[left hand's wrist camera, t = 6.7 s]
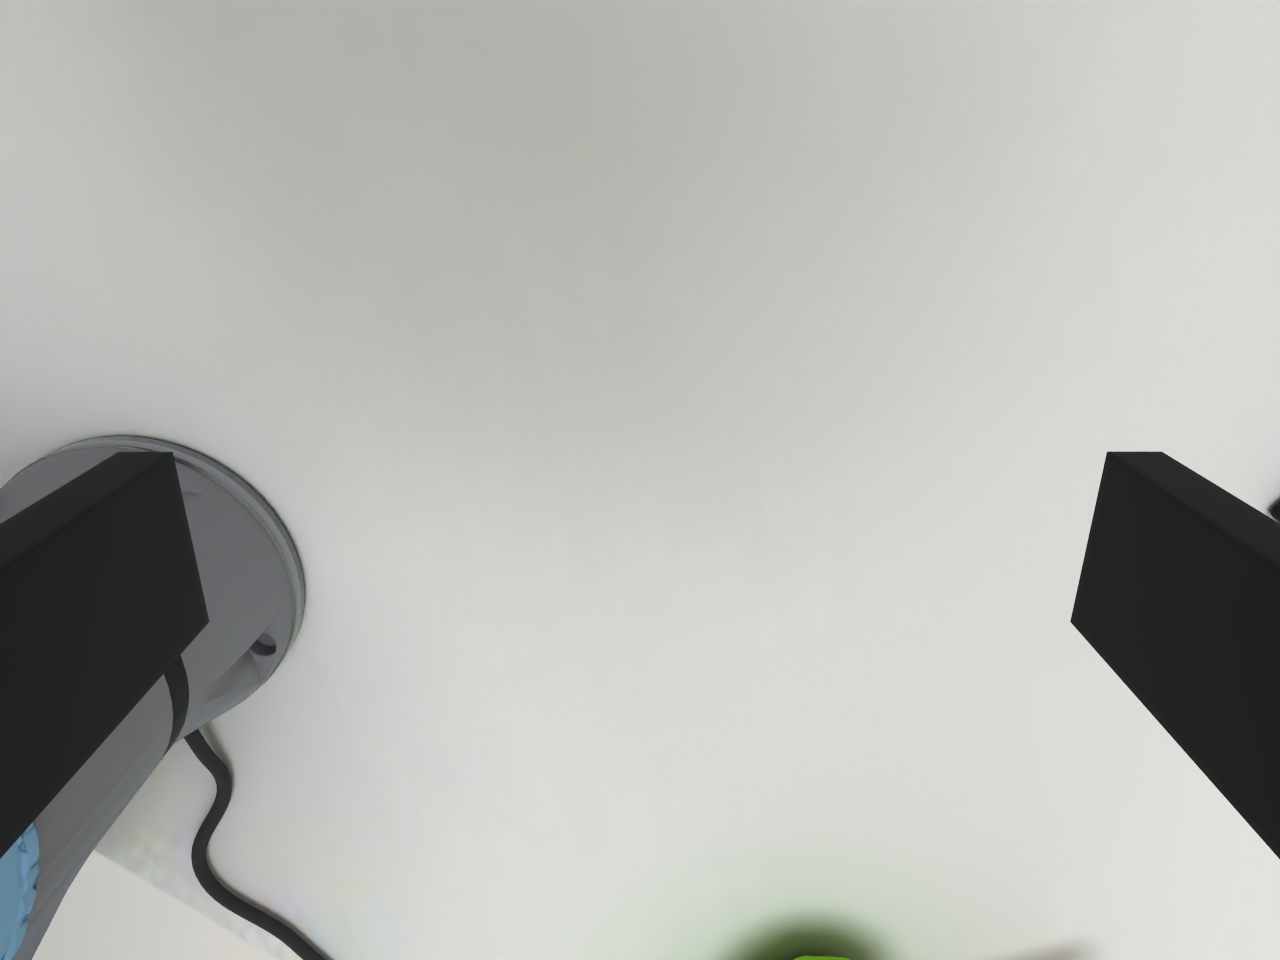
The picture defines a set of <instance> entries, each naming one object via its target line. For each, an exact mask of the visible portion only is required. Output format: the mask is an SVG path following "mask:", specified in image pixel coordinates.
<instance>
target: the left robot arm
mask: <svg viewBox="0 0 1280 960" xmlns="http://www.w3.org/2000/svg"><path fill="white" fill-rule="evenodd" d="M208 623H209V617H208V613H207V608H206V603H205V599H204V594H203V589H202V585H201V580H200V575H199V571H198V566H197V562H196V557H195V552H194V548H193V543H192V538H191V534H190V529H189V524H188V520H187V515H186V511H185V506H184V501H183V497H182V492H181V487H180V483H179V478H178V473H177V469H176V464H175V460H174V455H173V452H117V453H115V454H114V455H112V456H111V457H109V458H107V459H106V460H104V461H102V462H101V463H99V464H97V465H96V466H94V467H93V468H91V469H89V470H88V471H86V472H84V473H83V474H81V475H79V476H78V477H76V478H74V479H73V480H71V481H70V482H68V483H66V484H65V485H63V486H61V487H60V488H58V489H56V490H55V491H53V492H52V493H50V494H48V495H47V496H45V497H43V498H42V499H40V500H38V501H37V502H35V503H33V504H32V505H30V506H29V507H27V508H25V509H24V510H22V511H20V512H19V513H17V514H15V515H14V516H12V517H11V518H9V519H7V520H6V521H4V522H2V523H1V524H0V859H1V858H2V856H3V855H4V854H5V853H6V852H7V851H8V850H9V849H10V847H11V846H12V845H13V844H14V843H15V842H16V841H17V839H18V838H19V837H20V836H21V835H22V834H23V833H24V832H25V830H26V829H27V828H28V827H29V826H30V825H31V824H32V822H33V821H34V820H35V819H36V818H37V817H38V816H39V815H40V813H41V812H42V811H43V810H44V809H45V808H46V807H47V805H48V804H49V803H50V802H51V801H52V800H53V799H54V798H55V796H56V795H57V794H58V793H59V792H60V791H61V790H62V788H63V787H64V786H65V785H66V784H67V783H68V782H69V780H70V779H71V778H72V777H73V776H74V775H75V774H76V773H77V771H78V770H79V769H80V768H81V767H82V766H83V765H84V763H85V762H86V761H87V760H88V759H89V758H90V757H91V756H92V754H93V753H94V752H95V751H96V750H97V749H98V748H99V746H100V745H101V744H102V743H103V742H104V741H105V740H106V739H107V737H108V736H109V735H110V734H111V733H112V732H113V731H114V729H115V728H116V727H117V726H118V725H119V724H120V723H121V722H122V720H123V719H124V718H125V717H126V716H127V715H128V714H129V712H130V711H131V710H132V709H133V708H134V707H135V706H136V705H137V703H138V702H139V701H140V700H141V699H142V698H143V697H144V695H145V694H146V693H147V692H148V691H149V690H150V689H151V688H152V686H153V685H154V684H155V683H156V682H157V681H158V680H159V678H160V677H161V676H162V675H163V674H164V673H165V672H166V671H167V669H168V668H169V667H170V666H171V665H172V664H173V663H174V661H175V660H176V659H177V658H178V657H179V656H180V655H181V654H182V652H183V651H184V650H185V649H186V648H187V647H188V646H189V644H190V643H191V642H192V641H193V640H194V639H195V638H196V636H197V635H198V634H199V633H200V632H201V631H202V630H203V629H204V627H205V626H206V625H207V624H208ZM1071 623H1072V624H1073V625H1074V626H1075V627H1076V629H1077V630H1078V631H1079V632H1080V633H1081V634H1082V635H1083V636H1084V638H1085V639H1086V640H1087V641H1088V642H1089V643H1090V644H1091V646H1092V647H1093V648H1094V649H1095V650H1096V651H1097V652H1098V654H1099V655H1100V656H1101V657H1102V658H1103V659H1104V660H1105V661H1106V663H1107V664H1108V665H1109V666H1110V667H1111V668H1112V669H1113V671H1114V672H1115V673H1116V674H1117V675H1118V676H1119V677H1120V678H1121V680H1122V681H1123V682H1124V683H1125V684H1126V685H1127V686H1128V688H1129V689H1130V690H1131V691H1132V692H1133V693H1134V694H1135V695H1136V697H1137V698H1138V699H1139V700H1140V701H1141V702H1142V703H1143V705H1144V706H1145V707H1146V708H1147V709H1148V710H1149V711H1150V712H1151V714H1152V715H1153V716H1154V717H1155V718H1156V719H1157V720H1158V722H1159V723H1160V724H1161V725H1162V726H1163V727H1164V728H1165V729H1166V731H1167V732H1168V733H1169V734H1170V735H1171V736H1172V737H1173V739H1174V740H1175V741H1176V742H1177V743H1178V744H1179V745H1180V746H1181V748H1182V749H1183V750H1184V751H1185V752H1186V753H1187V754H1188V756H1189V757H1190V758H1191V759H1192V760H1193V761H1194V762H1195V763H1196V765H1197V766H1198V767H1199V768H1200V769H1201V770H1202V771H1203V773H1204V774H1205V775H1206V776H1207V777H1208V778H1209V779H1210V780H1211V782H1212V783H1213V784H1214V785H1215V786H1216V787H1217V788H1218V790H1219V791H1220V792H1221V793H1222V794H1223V795H1224V796H1225V798H1226V799H1227V800H1228V801H1229V802H1230V803H1231V804H1232V805H1233V807H1234V808H1235V809H1236V810H1237V811H1238V812H1239V813H1240V815H1241V816H1242V817H1243V818H1244V819H1245V820H1246V821H1247V822H1248V824H1249V825H1250V826H1251V827H1252V828H1253V829H1254V830H1255V832H1256V833H1257V834H1258V835H1259V836H1260V837H1261V838H1262V839H1263V841H1264V842H1265V843H1266V844H1267V845H1268V846H1269V847H1270V849H1271V850H1272V851H1273V852H1274V853H1275V854H1276V855H1277V856H1278V858H1279V859H1280V524H1279V523H1278V522H1276V521H1274V520H1273V519H1271V518H1269V517H1268V516H1266V515H1265V514H1263V513H1261V512H1260V511H1258V510H1256V509H1255V508H1253V507H1251V506H1250V505H1248V504H1247V503H1245V502H1243V501H1242V500H1240V499H1238V498H1237V497H1235V496H1233V495H1232V494H1230V493H1228V492H1227V491H1225V490H1224V489H1222V488H1220V487H1219V486H1217V485H1215V484H1214V483H1212V482H1210V481H1209V480H1207V479H1206V478H1204V477H1202V476H1201V475H1199V474H1197V473H1196V472H1194V471H1192V470H1191V469H1189V468H1187V467H1186V466H1184V465H1183V464H1181V463H1179V462H1178V461H1176V460H1174V459H1173V458H1171V457H1169V456H1168V455H1166V454H1165V453H1163V452H1107V455H1106V460H1105V464H1104V469H1103V473H1102V478H1101V483H1100V487H1099V492H1098V497H1097V501H1096V506H1095V511H1094V515H1093V520H1092V524H1091V529H1090V534H1089V538H1088V543H1087V548H1086V552H1085V557H1084V562H1083V566H1082V571H1081V575H1080V580H1079V585H1078V589H1077V594H1076V599H1075V603H1074V608H1073V613H1072V617H1071Z"/></svg>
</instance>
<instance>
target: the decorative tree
mask: <svg viewBox="0 0 1280 960" xmlns="http://www.w3.org/2000/svg"><path fill="white" fill-rule="evenodd" d="M793 960H850V959H848V958H843V957H827V956H806V955H805V956H800V957H797V958H795V959H793Z"/></svg>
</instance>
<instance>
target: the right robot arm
mask: <svg viewBox="0 0 1280 960" xmlns="http://www.w3.org/2000/svg"><path fill="white" fill-rule="evenodd" d="M117 452H173V455H174V460H175V464H176V469H177V473H178V478H179V483H180V487H181V492H182V497H183V501H184V506H185V511H186V515H187V520H188V524H189V529H190V534H191V538H192V543H193V548H194V552H195V557H196V562H197V566H198V571H199V575H200V580H201V585H202V589H203V594H204V599H205V603H206V608H207V613H208V617H209V623H208V624H207V625H206V626H205V627H204V629H203V630H202V631H201V632H200V633H199V634H198V635H197V636H196V638H195V639H194V640H193V641H192V642H191V643H190V644H189V646H188V647H187V648H186V649H185V650H184V651H183V652H182V654H181V655H180V656H179V657H178V658H177V659H176V660H175V661H174V663H173V664H172V665H171V666H170V667H169V668H168V669H167V671H166V672H165V673H164V674H163V675H162V676H161V677H160V678H159V680H158V681H157V682H156V683H155V684H154V685H153V686H152V688H151V689H150V690H149V691H148V692H147V693H146V694H145V695H144V697H143V698H142V699H141V700H140V701H139V702H138V703H137V705H136V706H135V707H134V708H133V709H132V710H131V711H130V712H129V714H128V715H127V716H126V717H125V718H124V719H123V720H122V722H121V723H120V724H119V725H118V726H117V727H116V728H115V729H114V731H113V732H112V733H111V734H110V735H109V736H108V737H107V739H106V740H105V741H104V742H103V743H102V744H101V745H100V746H99V748H98V749H97V750H96V751H95V752H94V753H93V754H92V756H91V757H90V758H89V759H88V760H87V761H86V762H85V763H84V765H83V766H82V767H81V768H80V769H79V770H78V771H77V773H76V774H75V775H74V776H73V777H72V778H71V779H70V780H69V782H68V783H67V784H66V785H65V786H64V787H63V788H62V790H61V791H60V792H59V793H58V794H57V795H56V796H55V798H54V799H53V800H52V801H51V802H50V803H49V804H48V805H47V807H46V808H45V809H44V810H43V811H42V812H41V813H40V815H39V816H38V817H37V818H36V819H35V820H34V821H33V822H32V824H31V825H30V826H29V827H28V828H27V829H26V830H25V832H24V833H23V834H22V835H21V836H20V837H19V838H18V839H17V841H16V842H15V843H14V844H13V845H12V846H11V847H10V849H9V850H8V851H7V852H6V853H5V854H4V855H3V856H2V858H1V859H0V960H32V958H33V956H34V954H35V952H36V950H37V948H38V946H39V944H40V942H41V940H42V938H43V936H44V934H45V932H46V931H47V928H48V927H49V925H50V923H51V921H52V919H53V917H54V915H55V913H56V911H57V909H58V907H59V905H60V903H61V901H62V899H63V897H64V895H65V893H66V892H67V890H68V888H69V886H70V885H71V883H72V882H73V880H74V878H75V877H76V875H77V873H78V872H79V870H80V869H81V867H82V866H83V864H84V863H85V861H86V860H87V858H88V857H89V855H90V854H91V852H92V851H93V849H94V848H95V847H96V845H97V844H98V842H99V841H100V840H101V838H102V837H103V836H104V834H105V833H106V832H107V830H108V829H109V828H110V826H111V825H112V824H113V823H114V821H115V820H116V819H117V817H118V816H119V815H120V813H121V812H122V811H123V809H124V808H125V807H126V806H127V804H128V803H129V802H130V800H131V799H132V798H133V796H134V795H135V794H136V792H137V791H138V790H139V789H140V787H141V786H142V785H143V783H144V782H145V781H146V779H147V778H148V777H149V775H150V774H151V773H152V772H153V770H154V769H155V768H156V766H157V765H158V763H159V762H160V760H161V759H162V758H163V757H164V755H165V754H166V753H167V751H168V750H169V749H170V747H171V746H172V745H173V744H174V743H175V742H177V741H178V740H180V739H182V738H183V737H184V739H185V740H186V742H187V743H188V745H189V746H190V748H191V749H192V751H193V752H194V754H195V755H196V756H197V758H198V759H199V760H200V761H201V763H202V764H203V765H204V766H205V767H206V768H207V769H208V770H209V771H210V772H211V774H212V775H213V777H214V778H215V781H216V784H217V794H216V798H215V801H214V804H213V806H212V808H211V810H210V812H209V814H208V815H207V817H206V819H205V820H204V822H203V824H202V825H201V827H200V829H199V831H198V833H197V835H196V837H195V840H194V843H193V846H192V866H193V869H194V872H195V875H196V877H197V879H198V881H199V882H200V884H201V885H202V887H203V888H204V889H205V890H206V892H207V893H208V894H209V895H210V896H211V897H212V898H213V899H215V900H216V901H217V902H218V903H220V904H221V905H222V906H224V907H225V908H227V909H228V910H230V911H232V912H233V913H235V914H237V915H239V916H240V917H242V918H244V919H246V920H248V921H250V922H252V923H253V924H255V925H257V926H259V927H261V928H262V929H264V930H266V931H268V932H269V933H271V934H272V935H274V936H275V937H277V938H278V939H280V940H281V941H282V942H284V943H285V944H286V945H287V946H288V947H290V948H291V949H292V950H293V951H294V952H295V953H296V954H297V955H298V956H300V957H301V958H302V959H303V960H325V959H324V958H323V957H322V956H321V955H320V954H319V953H317V952H316V951H315V950H314V949H313V948H312V947H311V946H309V945H308V944H307V943H306V942H305V941H304V940H303V939H302V938H301V937H299V936H298V935H297V934H296V933H295V932H294V931H292V930H291V929H290V928H288V927H287V926H286V925H284V924H283V923H281V922H280V921H278V920H276V919H275V918H273V917H271V916H270V915H268V914H266V913H264V912H262V911H261V910H259V909H257V908H255V907H253V906H251V905H250V904H248V903H246V902H244V901H243V900H241V899H239V898H238V897H236V896H235V895H233V894H232V893H230V892H229V891H228V890H227V889H225V888H224V887H223V886H222V885H221V884H220V883H219V882H218V881H217V879H216V878H215V877H214V876H213V874H212V872H211V870H210V869H209V867H208V864H207V861H206V848H207V845H208V841H209V839H210V837H211V835H212V833H213V832H214V830H215V828H216V826H217V825H218V823H219V821H220V820H221V818H222V816H223V815H224V813H225V811H226V809H227V806H228V804H229V801H230V797H231V777H230V773H229V771H228V769H227V767H226V766H225V765H224V763H223V762H222V761H221V760H220V759H219V758H218V757H217V755H216V754H215V753H214V752H213V751H212V749H211V748H210V747H209V745H208V744H207V742H206V741H205V739H204V737H203V736H202V734H201V733H200V731H199V730H198V728H200V727H201V726H203V725H205V724H206V723H208V722H210V721H211V720H213V719H215V718H216V717H218V716H220V715H221V714H223V713H225V712H226V711H228V710H230V709H231V708H233V707H235V706H236V705H238V704H239V703H241V702H242V701H244V700H245V699H246V698H248V697H249V696H250V695H251V694H252V693H254V692H255V691H256V690H257V689H258V688H259V687H260V686H261V685H263V684H264V683H265V682H266V681H267V680H268V679H269V677H270V676H271V675H272V674H273V673H274V672H275V670H276V669H277V667H278V666H279V664H280V663H281V661H282V660H283V658H284V657H285V655H286V654H287V652H288V651H289V649H290V648H291V646H292V644H293V642H294V640H295V638H296V636H297V634H298V631H299V628H300V625H301V621H302V617H303V611H304V601H305V596H304V581H303V574H302V570H301V566H300V562H299V559H298V556H297V553H296V550H295V548H294V546H293V544H292V541H291V539H290V537H289V535H288V533H287V532H286V530H285V528H284V527H283V525H282V523H281V522H280V520H279V519H278V518H277V516H276V515H275V513H274V512H273V511H272V509H271V508H270V507H269V506H268V505H267V504H266V502H265V501H264V500H263V499H262V498H261V497H260V496H259V495H258V494H257V493H256V492H255V491H254V490H253V489H252V488H251V487H250V486H248V485H247V484H246V483H245V482H244V481H242V480H241V479H240V478H239V477H237V476H236V475H235V474H233V473H232V472H230V471H229V470H227V469H226V468H224V467H223V466H221V465H219V464H218V463H216V462H214V461H213V460H211V459H209V458H207V457H205V456H203V455H201V454H199V453H196V452H194V451H191V450H189V449H186V448H184V447H181V446H178V445H174V444H171V443H168V442H164V441H159V440H155V439H150V438H142V437H134V436H109V437H99V438H93V439H87V440H83V441H80V442H76V443H73V444H70V445H67V446H65V447H62V448H60V449H58V450H56V451H54V452H52V453H50V454H48V455H47V456H45V457H43V458H41V459H39V460H37V461H36V462H34V463H32V464H30V465H28V466H27V467H26V468H24V469H23V470H21V471H20V472H18V473H17V474H16V475H15V476H14V477H13V478H12V479H11V480H9V481H8V482H7V483H6V484H5V485H4V486H3V487H2V488H1V489H0V524H1V523H2V522H4V521H6V520H7V519H9V518H11V517H12V516H14V515H15V514H17V513H19V512H20V511H22V510H24V509H25V508H27V507H29V506H30V505H32V504H33V503H35V502H37V501H38V500H40V499H42V498H43V497H45V496H47V495H48V494H50V493H52V492H53V491H55V490H56V489H58V488H60V487H61V486H63V485H65V484H66V483H68V482H70V481H71V480H73V479H74V478H76V477H78V476H79V475H81V474H83V473H84V472H86V471H88V470H89V469H91V468H93V467H94V466H96V465H97V464H99V463H101V462H102V461H104V460H106V459H107V458H109V457H111V456H112V455H114V454H115V453H117Z"/></svg>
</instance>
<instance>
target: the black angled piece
mask: <svg viewBox="0 0 1280 960" xmlns="http://www.w3.org/2000/svg"><path fill="white" fill-rule="evenodd" d="M1271 515H1272V516H1273V517H1274V518H1275V519H1276V520H1277V521H1278V522H1279V523H1280V503H1279V504H1278V505H1276V506H1275V507H1274V508H1273V509H1272V510H1271Z"/></svg>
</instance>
